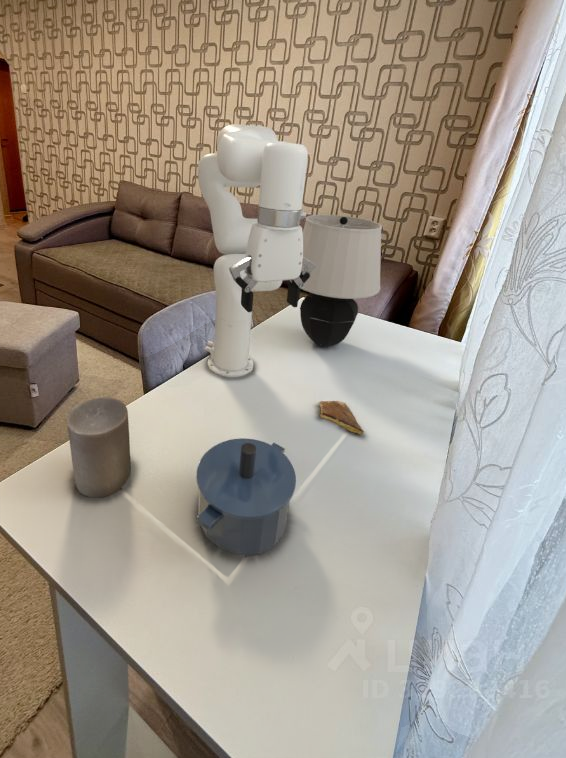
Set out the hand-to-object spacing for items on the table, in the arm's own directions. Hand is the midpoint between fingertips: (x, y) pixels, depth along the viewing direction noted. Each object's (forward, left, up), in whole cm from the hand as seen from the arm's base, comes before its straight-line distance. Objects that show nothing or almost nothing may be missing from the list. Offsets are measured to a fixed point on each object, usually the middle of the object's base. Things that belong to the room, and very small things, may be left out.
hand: (269, 307), depth 76 cm
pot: (+11, -20, -28) cm, 36 cm away
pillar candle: (-13, -30, -28) cm, 43 cm away
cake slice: (+13, +15, -28) cm, 35 cm away
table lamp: (-7, +46, -28) cm, 55 cm away
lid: (+11, -20, -20) cm, 30 cm away
